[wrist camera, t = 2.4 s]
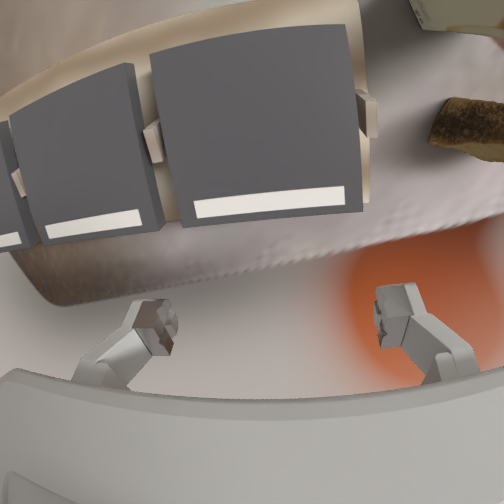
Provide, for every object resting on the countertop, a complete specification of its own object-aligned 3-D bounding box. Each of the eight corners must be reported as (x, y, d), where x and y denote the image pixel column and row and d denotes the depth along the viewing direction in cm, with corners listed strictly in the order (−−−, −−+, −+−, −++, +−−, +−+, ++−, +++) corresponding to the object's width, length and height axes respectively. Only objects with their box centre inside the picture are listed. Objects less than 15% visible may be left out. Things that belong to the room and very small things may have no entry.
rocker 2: (157, 56, 15) (148, 54, 14) (341, 28, 13) (345, 23, 12) (188, 220, 19) (182, 228, 18) (358, 204, 17) (363, 212, 16)
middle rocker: (19, 113, 16) (8, 115, 15) (133, 63, 15) (123, 62, 14) (52, 239, 21) (42, 246, 20) (166, 223, 19) (159, 231, 18)
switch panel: (-32, 123, 21) (-74, 151, 15) (346, -1, 15) (374, -13, 10) (15, 230, 29) (-16, 267, 24) (359, 183, 23) (381, 231, 18)
